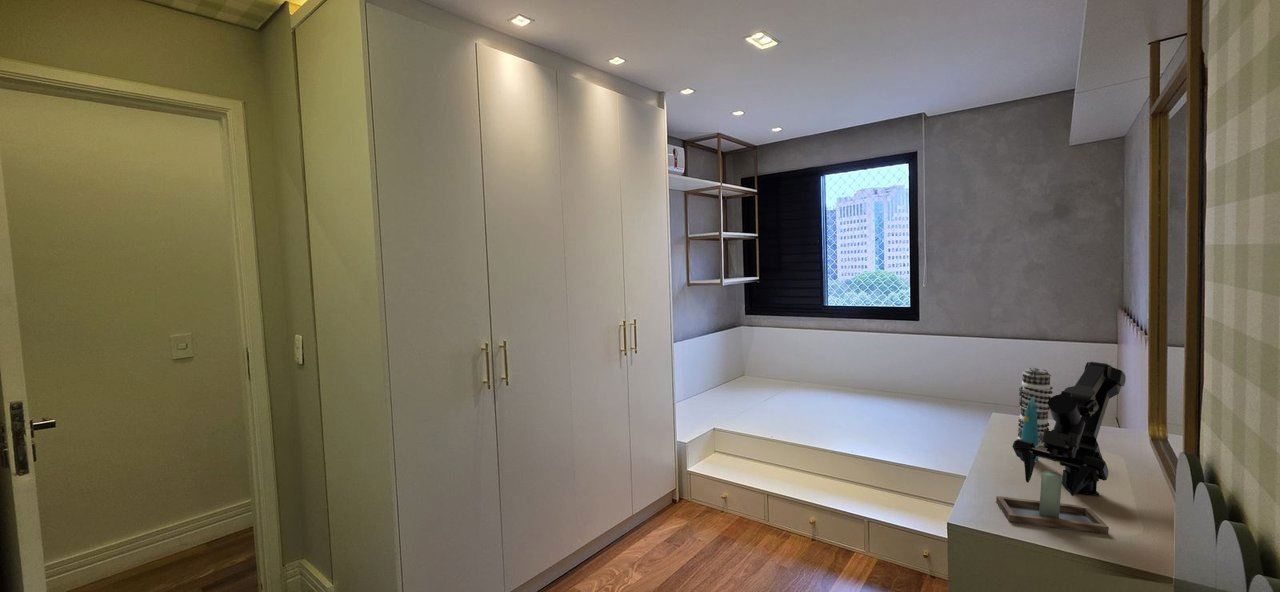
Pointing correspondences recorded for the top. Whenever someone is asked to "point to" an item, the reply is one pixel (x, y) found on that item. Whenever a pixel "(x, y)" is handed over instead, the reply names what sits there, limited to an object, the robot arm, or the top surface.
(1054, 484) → the post
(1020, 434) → the decorative candle
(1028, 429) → the tube
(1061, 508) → the brown wooden flat tray
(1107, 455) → the top surface
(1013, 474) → the top surface
